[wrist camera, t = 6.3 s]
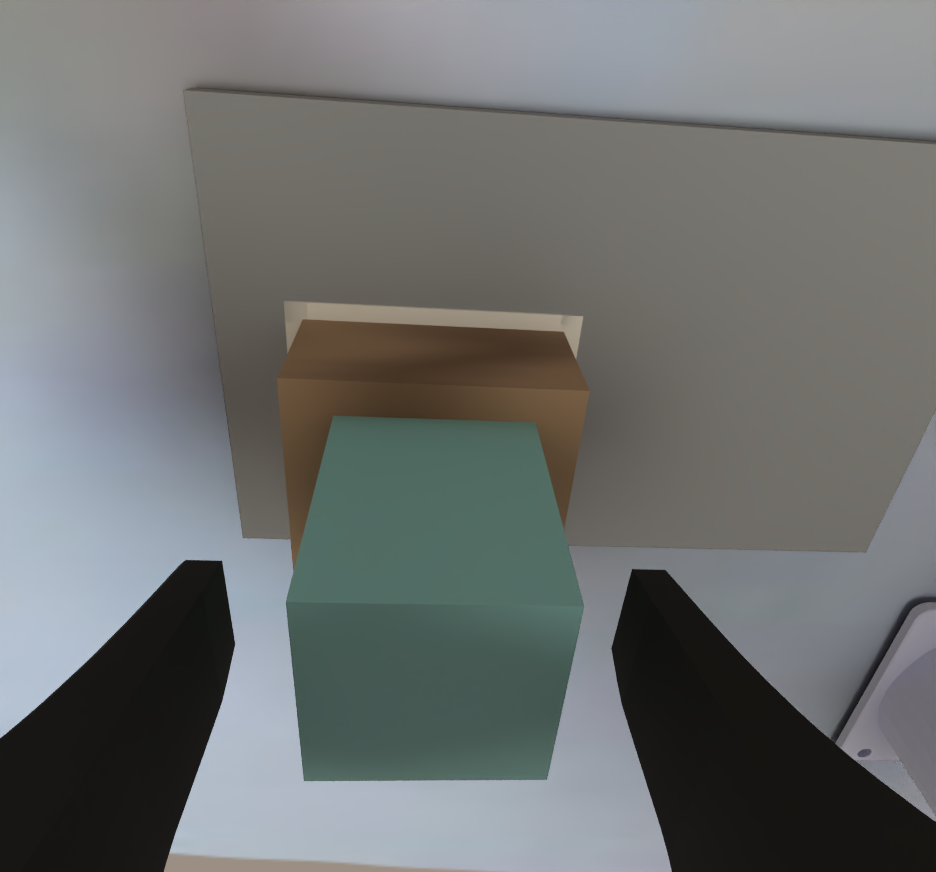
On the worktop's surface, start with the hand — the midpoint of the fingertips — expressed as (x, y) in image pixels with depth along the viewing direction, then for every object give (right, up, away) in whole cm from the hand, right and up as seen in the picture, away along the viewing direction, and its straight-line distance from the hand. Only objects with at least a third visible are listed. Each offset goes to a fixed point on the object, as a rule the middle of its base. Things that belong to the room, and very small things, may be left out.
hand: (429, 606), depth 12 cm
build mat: (+4, +5, +5) cm, 8 cm away
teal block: (0, +2, +2) cm, 3 cm away
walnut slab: (0, +3, +5) cm, 6 cm away
